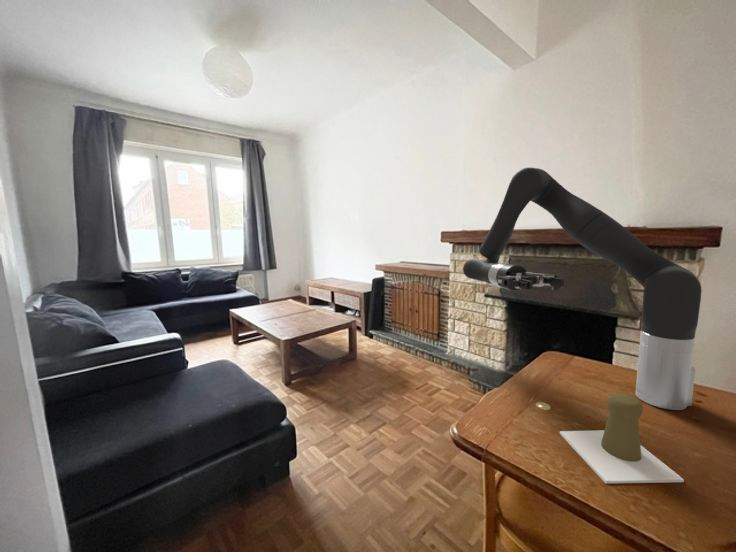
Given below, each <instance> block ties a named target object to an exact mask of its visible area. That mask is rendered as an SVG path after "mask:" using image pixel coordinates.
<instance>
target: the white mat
mask: <svg viewBox="0 0 736 552" xmlns="http://www.w3.org/2000/svg"><path fill="white" fill-rule="evenodd" d="M604 430H605V429H603V430H601V429H599V430H559V435H560V436H561V437H562V438H563V439H564V440H565V441H566V442H567V443H568V444H569V445H570V447H571V448H572V449H573V450H574V451H575V453H577V455H578V456H579V457H580V458H581V459H583V461H584V462H585V463H586V464H587V465H588V466H589V467H590V468H591V469H592V470H593V472H594V473H595V474H596V475H597V476H598V477H599V478H600V479H601V481H603V483H604V484H648V483H650V484H651V483H655V484H656V483H662V484H663V483H684V482H685V479H684V478H682V476H681V475H679V474H678V473H677V472H676V471H674V470H673V469H672V468H670V467H669V466H668V465H666V464H665V463H664V462H663V461H662V460H660V459H659V458H658V457H657V456H655V455H654V454H653V453H651V452H650V451H649V450H647V449H646V448H645V447H644V446H643V445H642V444H640V446H641V457H642V458H641V460H639V461H636V462H630V461H625V460H622V459H619V458H616V457H614V456H612V455H611V454H609V453H608V452H606V451H605V450H604V449H603V448H602V446H601V442H602V438H603V434H604Z"/></svg>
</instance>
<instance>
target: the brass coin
mask: <svg viewBox="0 0 736 552" xmlns="http://www.w3.org/2000/svg"><path fill="white" fill-rule="evenodd" d="M535 406H536V407H537V408H539V409H541V410H545V411H548V410H549V411H550V410H551V408H552V407H551V405H550V404H548V403H545V402H543V401H538V402H536V403H535Z"/></svg>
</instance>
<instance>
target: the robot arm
mask: <svg viewBox="0 0 736 552" xmlns="http://www.w3.org/2000/svg"><path fill="white" fill-rule="evenodd" d="M530 202H533V203H534V204H536V205H537V206H539V207H541V208H542V209H543V210H545V211H546V212H548V213H549V214H550V215H552V217H553V218H554V219H555V220H556V221H557V223H558V224H559V226H561V228H562V229H563V231H565V233H566V234H567V235H569V236H570V237H571V238H572V239H574V241H576V242H577V243H579V244H580V245H581V246H582V247H584V248H585V249H587V250H588V251H590V252H592V254H595V255H597V256H598V257H600V258H602V259H604V260H606V261H607V262H610V263H612V264H614V265H615V266H617V267H619V268H621V270H623V271H625V272H626V273H627V274H628V275H630V276H631V277H632V278H633V279H635V281H636V282H638V284H639V285H641V286H642V287H643V295H642V307H641V309H642V310H641V318H640V319H641V326H640V337H639V347H638V348H639V349H638V359H637V371H636V381H635V382H636V383H635V396H636V397H637V399H638V400H640V401H643V402H644V403H646V404H648V405H651V406H654V407H656V408H661V409H666V410H670V411H671V410H672V411H683V410H685V409H687V407H691V406H692V403H693V395H694V394H693V393H694V385H695V376H696V368H695V367H693V366H692V364H693V357H694V356H693V355H694V346H695V338H696V332H697V328H698V323H699V316H700V315H699V314H700V308H701V301H702V300H701V299H702V285H701V282H700V280H699V279H698V277H697V276H696V275H695V273H693V272H692V271H690V270H689V269H687V268H685V267H682V266H681V265H679V264H677V263H675V262H673V261H672V260H669V259H668V258H666V257H664V256H663V255H661V254H659V253H657V252H656V251H654V250H653V249H651V248H649V247H648V246H647V245H645V244H644V243H643V242H642V241H641V240H640V239H639V238H637V236H635V235H634V234H633V233H632V232H630V230H628V229H627V228H626V227H625V226H624V225H622V224H621V223H620V222H618V221H617V220H615V219H614V218H613V217H611V216H609V215H608V214H607V213H605V212H604V211H602V210H601V209H599V208H598V207H596V206H595V205H592V204H591V203H589V202H588V201H586V200H584V199H583V198H580V197H579V196H577V195H575V194H574V193H572V192H570V191H569V190H568V189H566V188H565V187H564V186H563V185H562V184H560V183H559V182H558V181H557V180H556V179H555V178H553V176H551V175H550V174H549V173H548V172H547V171H545V170H544V169H541V168H538V167H524V168H521V169H519V170H518V171H516V172H515V173H514V175H512V177H511V180H510V182H509V184H508V187H507V190H506V193H505V195H504V198H503V200H502V203H501V205H500V208H499V210H498V213H497V215H496V217H495V219H494V221H493V224H492V225H491V227H490V229H489V231H488V232H487V234H486V235H485V237H484V238H483V241H482V242H481V244H480V246H479V249H478V250H479V251H478V252H479V254H480V255H481V256H483V257H484V258H486V260H481V259H477V258H470V259H467V261H465V263H464V264H463V266H462V270H463V271H462V272H463V275H465V277H466V278H468V279H472V280H476V281H479V282H485V283H487V284H489V285H493V286H495V287H498V288H501V289H504V290H508V291H513V292H518V291H521V290H527V291H532V290H533V287H535V288H537V287H538V288H541V287H544V286H548V287H554V288H564V287H565V279H564V278H562V277H561V278H560V277H559V275H558V274H551V273H543V272H539V273H536V272H534V273H533V271H528V270H527V269H526V268H525V266H523V265H519V264H514V263H505V262H501V263H499V260H500V257H501V255H502V254H503V252H504V250H505V249H506V247H507V246H508V244H509V242H510V239H511V238H512V236H513V232H514V229H515V227H516V223H517V221H518V219H519V217H520V215H521V213H522V212H523V211H524V209H525V208H526V206H527V205H528V204H529V203H530ZM538 282H539V283H538Z"/></svg>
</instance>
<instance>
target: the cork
mask: <svg viewBox="0 0 736 552" xmlns="http://www.w3.org/2000/svg"><path fill="white" fill-rule="evenodd" d="M639 400H640V399H638V398H636V397H633V396H631V395H629V394H627V393H621V392H619V393H618V392H614V393H611V394H610V395H608V397H607V400H606V406H607V409H609V413H608V415H607V419H606V424H605V428H604V429H603V430H604V434H603V438H602V442H601V446H602V448H603V449H604V450H605V451H606V452H608V453H609V454H611V455H612V456H614V457H616V458H619V459H622V460H625V461H630V462H636V461H639V460H641V458H642V457H641V446H642V445H641V436H640V427H639V426H640V425H639V419H640V418H641V416H642V415H643V414H644V413H643V412H644V407H643V404H642V402H641V401H639ZM640 445H641V446H640Z"/></svg>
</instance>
